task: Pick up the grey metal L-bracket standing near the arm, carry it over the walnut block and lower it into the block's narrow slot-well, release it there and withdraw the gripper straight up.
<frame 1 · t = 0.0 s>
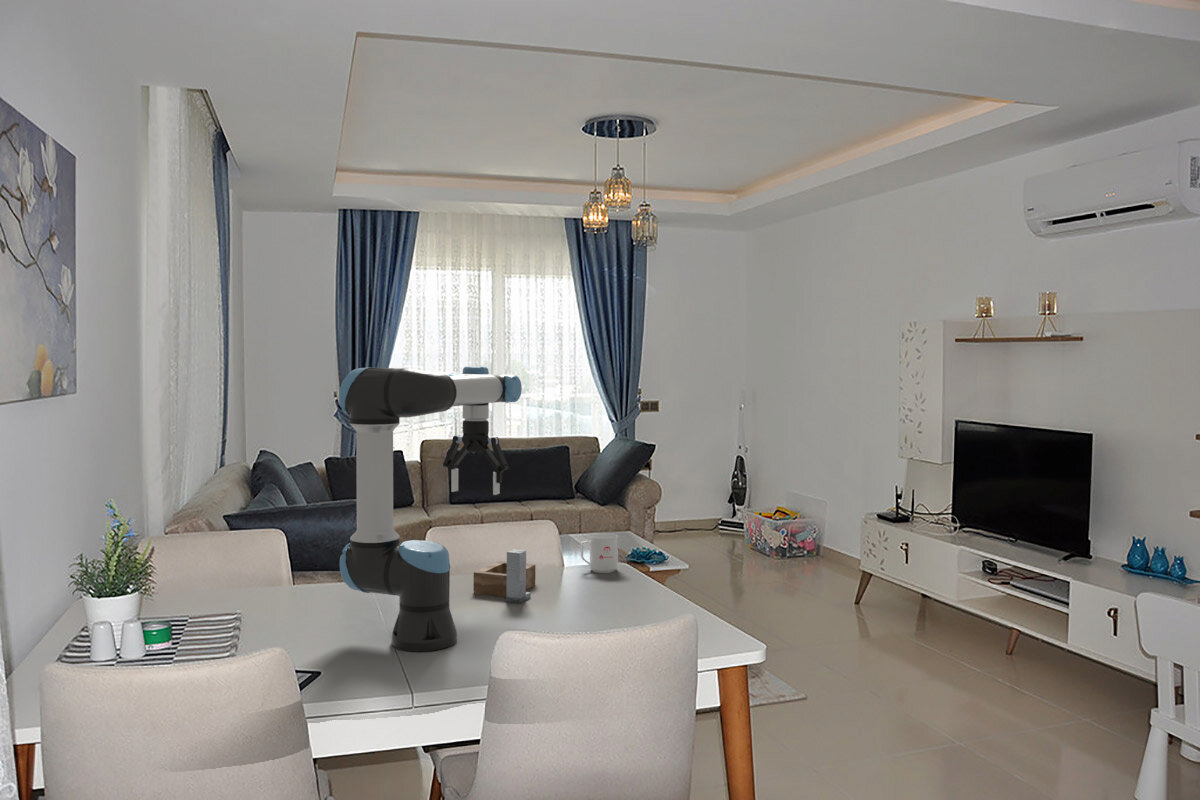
hand: (475, 492, 268), 28 cm above the table, fingers open, 13 cm apart
mug: (598, 571, 293), on the table
bracket: (516, 601, 255), on the table
well: (505, 588, 269), on the table
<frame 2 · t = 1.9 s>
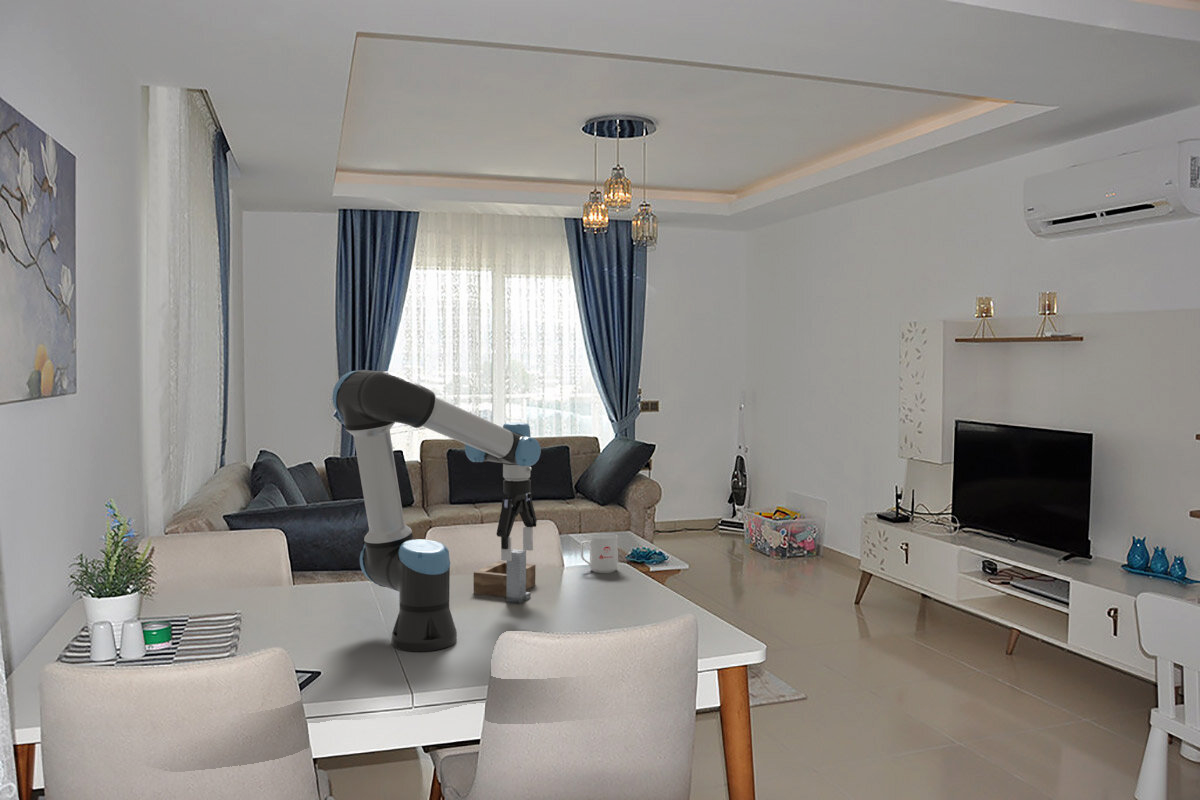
hand: (517, 555, 255), 13 cm above the table, fingers open, 13 cm apart
nothing on the table moved.
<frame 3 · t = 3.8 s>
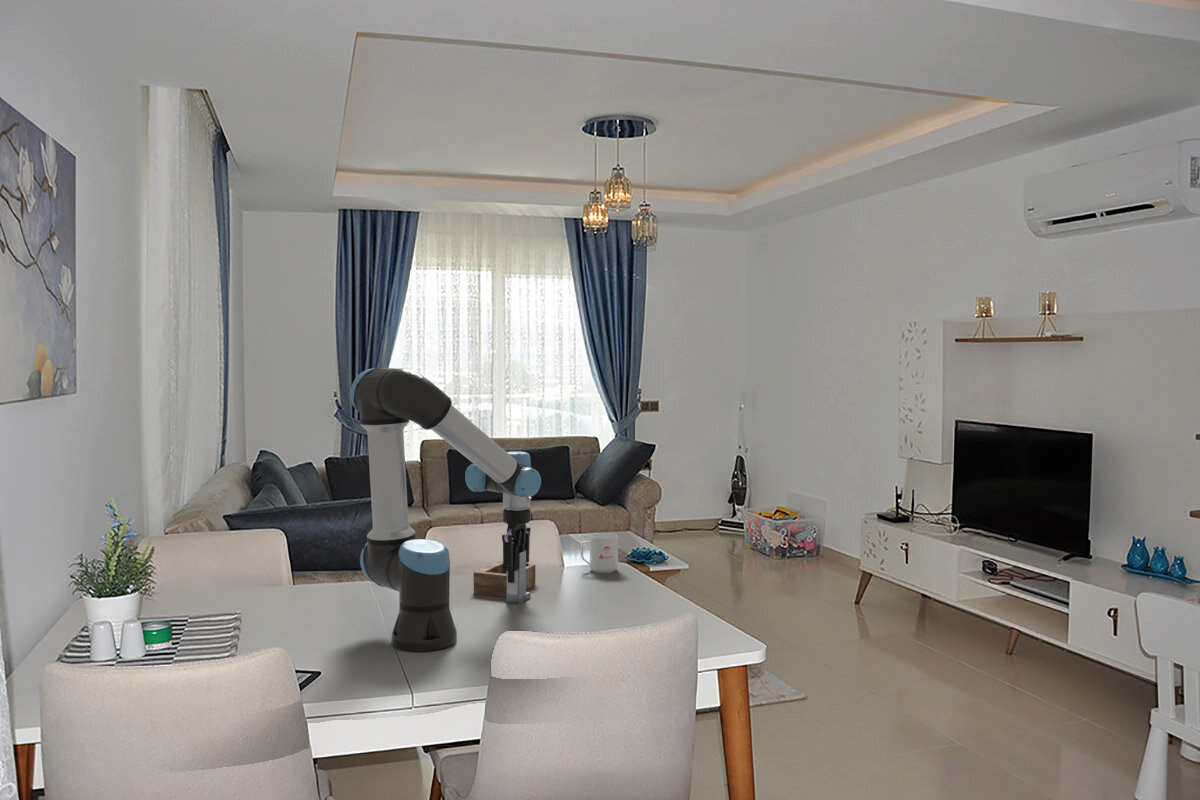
hand: (516, 591, 255), 3 cm above the table, fingers closed on bracket, 4 cm apart
bracket: (516, 601, 255), on the table, touching gripper
everything else where it was.
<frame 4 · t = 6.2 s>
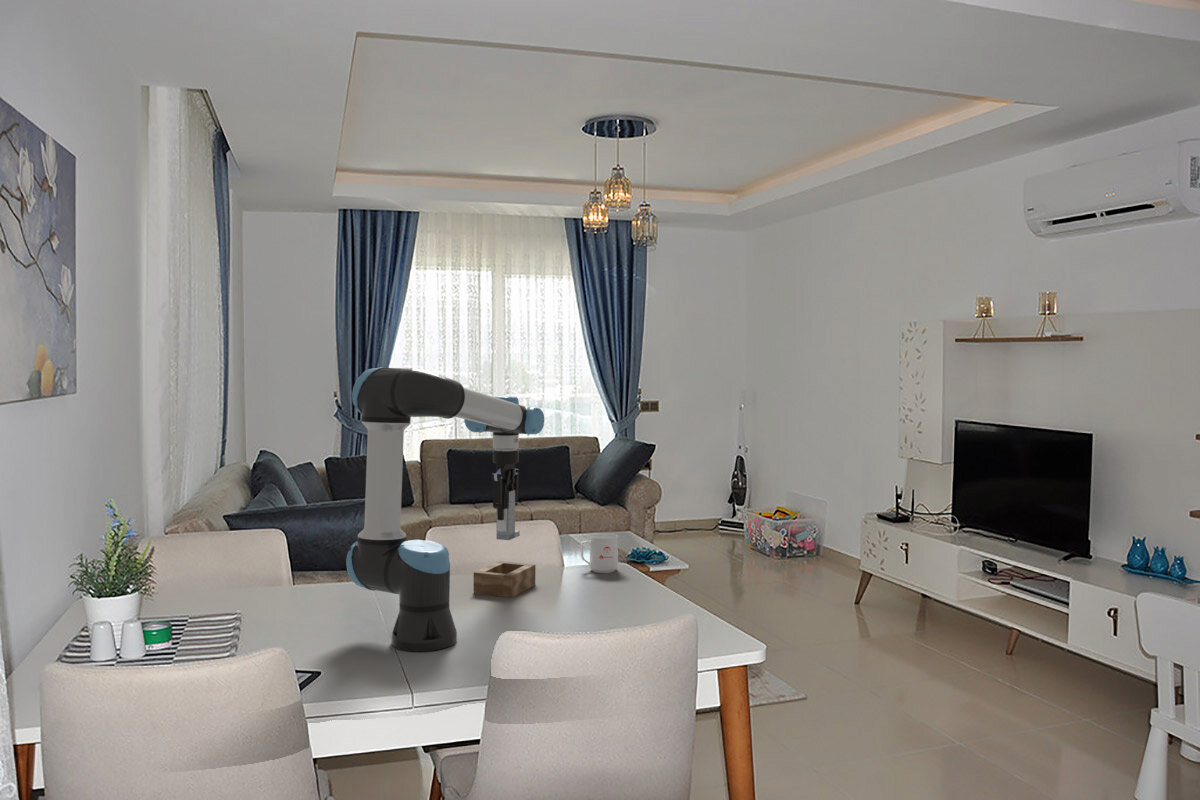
hand: (505, 529, 268), 17 cm above the table, fingers closed on bracket, 4 cm apart
bracket: (505, 538, 268), point 15 cm above the table, touching gripper
everything else where it was.
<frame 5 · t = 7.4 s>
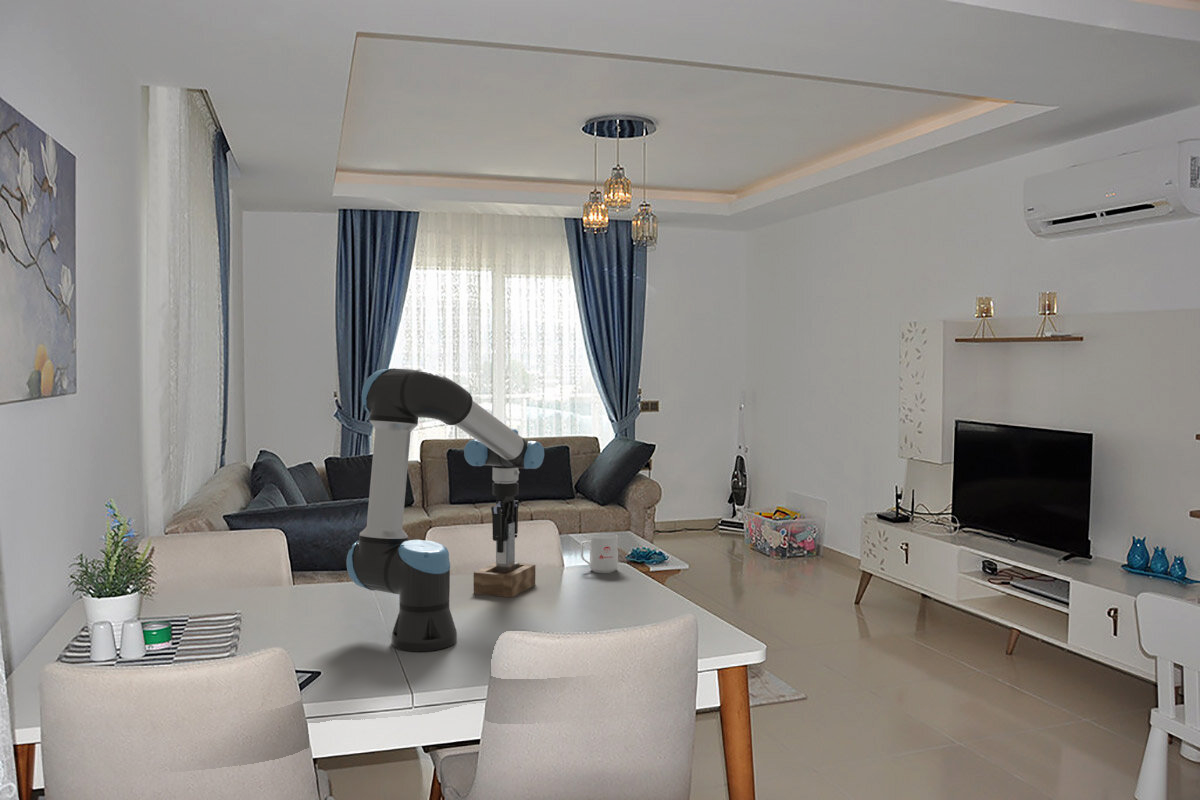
hand: (505, 561, 268), 8 cm above the table, fingers closed on bracket, 4 cm apart
bracket: (505, 570, 269), point 5 cm above the table, touching gripper
everything else where it was.
when the fingers open (5 cm above the table, at t = 8.5 s): bracket drops 2 cm, resting in well.
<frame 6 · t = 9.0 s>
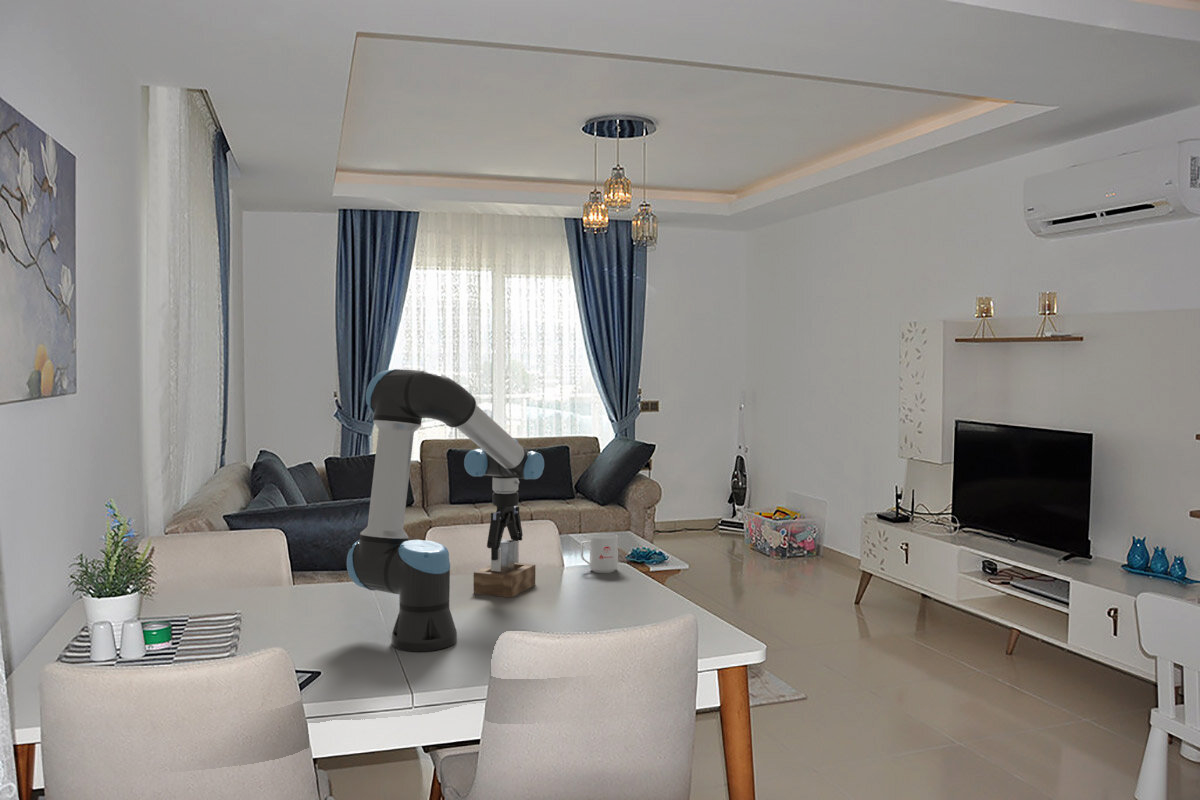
hand: (505, 566, 268), 6 cm above the table, fingers open, 11 cm apart
bracket: (505, 588, 269), resting in well
everything else where it was.
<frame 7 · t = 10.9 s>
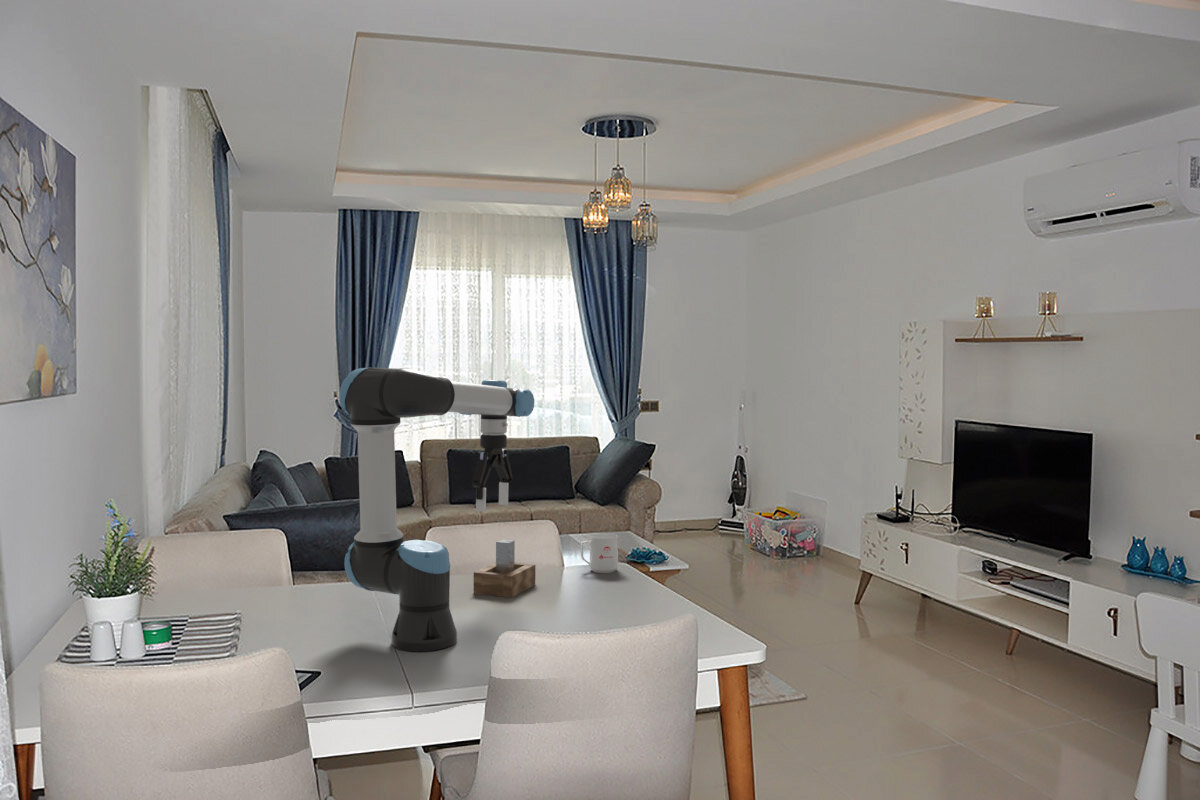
hand: (492, 507, 265), 24 cm above the table, fingers open, 13 cm apart
nothing on the table moved.
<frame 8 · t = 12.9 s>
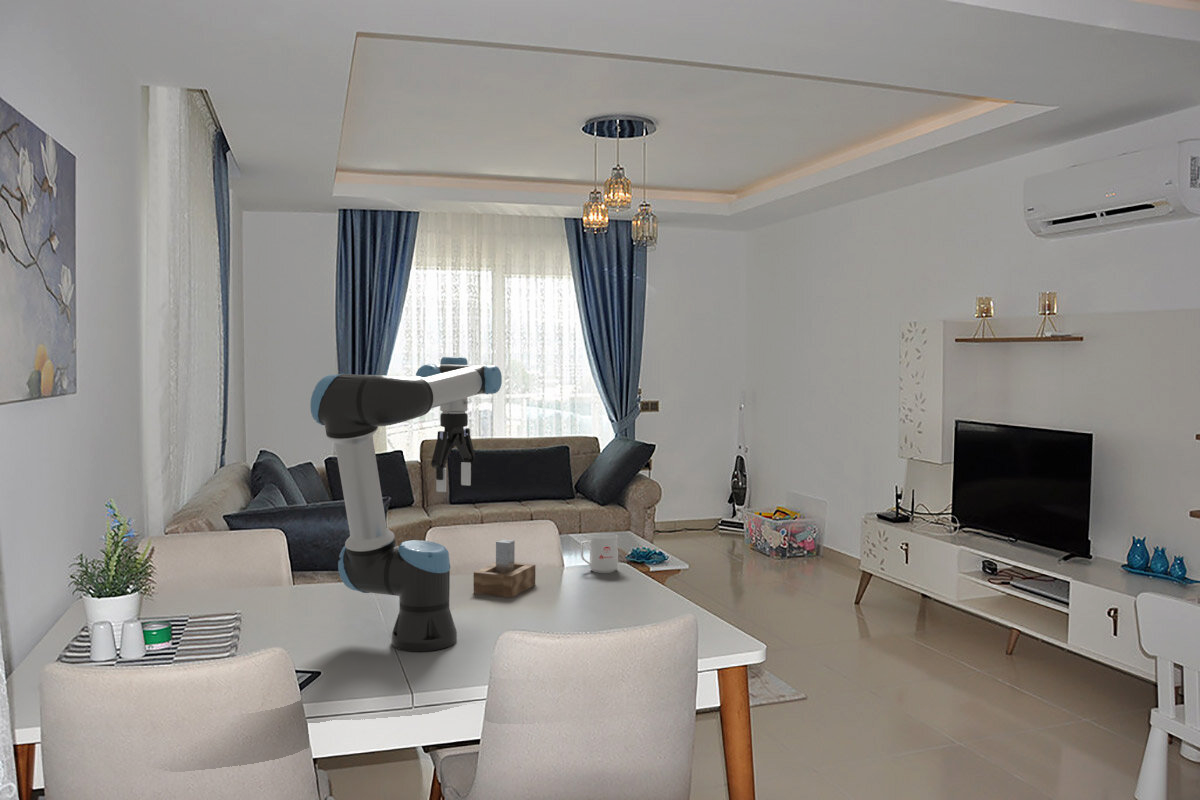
hand: (453, 488, 257), 31 cm above the table, fingers open, 13 cm apart
nothing on the table moved.
at the end: bracket inside the target area on the well (0.1 cm from its centre), point 0.0 cm above the well's base; bracket tilted 0°; the gripper is holding nothing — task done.
